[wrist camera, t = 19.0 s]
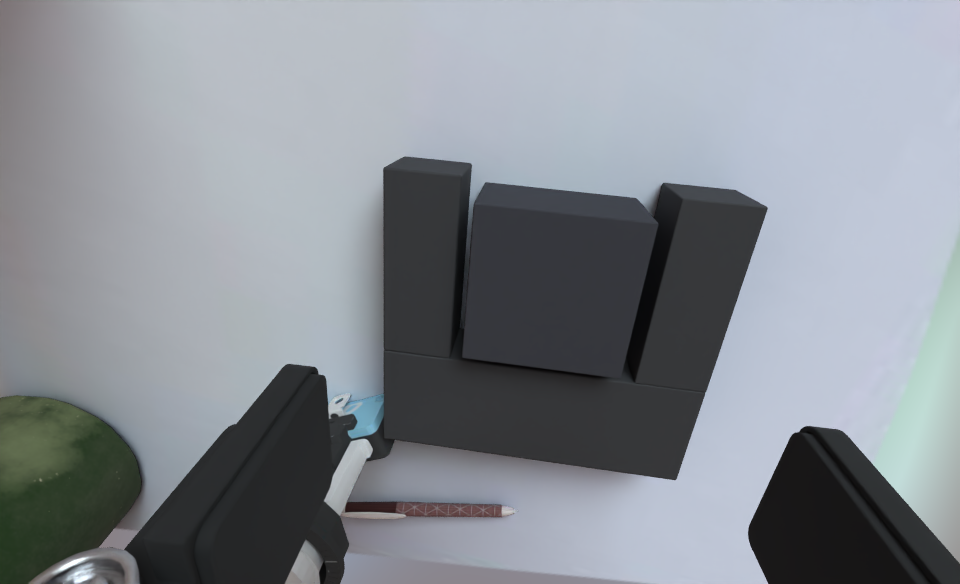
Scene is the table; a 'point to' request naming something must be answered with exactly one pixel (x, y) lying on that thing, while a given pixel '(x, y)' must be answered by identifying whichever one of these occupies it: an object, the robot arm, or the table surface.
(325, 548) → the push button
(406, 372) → the black u-shaped block
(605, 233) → the small black block
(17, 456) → the green bottle
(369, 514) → the pen
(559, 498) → the table surface
